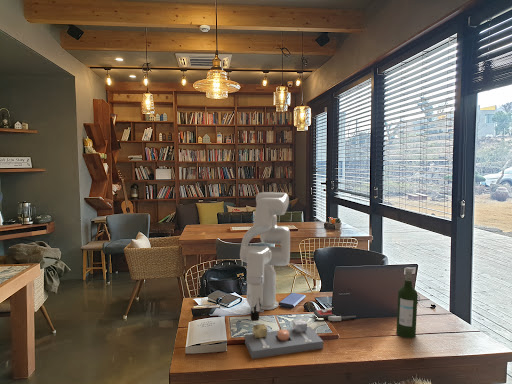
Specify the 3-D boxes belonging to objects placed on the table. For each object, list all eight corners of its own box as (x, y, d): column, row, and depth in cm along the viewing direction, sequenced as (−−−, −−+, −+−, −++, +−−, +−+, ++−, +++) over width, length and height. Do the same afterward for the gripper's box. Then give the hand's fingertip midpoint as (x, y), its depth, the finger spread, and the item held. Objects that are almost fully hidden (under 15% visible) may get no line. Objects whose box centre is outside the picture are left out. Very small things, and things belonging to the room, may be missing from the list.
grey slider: (292, 328, 150) (292, 320, 150) (303, 326, 152) (303, 319, 151) (296, 332, 146) (296, 324, 146) (306, 331, 148) (307, 323, 148)
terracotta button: (275, 336, 145) (275, 330, 144) (286, 335, 146) (286, 328, 146) (279, 342, 140) (279, 335, 140) (290, 340, 141) (290, 334, 141)
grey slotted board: (244, 341, 145) (244, 334, 145) (309, 333, 153) (310, 326, 153) (252, 358, 133) (252, 350, 133) (323, 348, 141) (323, 340, 141)
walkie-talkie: (317, 323, 163) (356, 320, 167) (317, 314, 163) (356, 311, 166) (311, 315, 172) (348, 312, 175) (311, 307, 171) (348, 304, 175)
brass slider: (252, 333, 146) (252, 325, 145) (264, 331, 147) (264, 324, 147) (255, 338, 142) (255, 329, 141) (266, 336, 143) (266, 328, 143)
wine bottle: (413, 331, 156) (416, 266, 153) (417, 339, 148) (420, 271, 146) (395, 328, 158) (397, 264, 155) (397, 337, 150) (400, 270, 148)
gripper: (243, 274, 156) (242, 314, 157) (251, 285, 141) (250, 328, 142) (258, 273, 158) (258, 312, 159) (268, 283, 143) (268, 326, 144)
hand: (254, 320), depth 151 cm, fingers closed
